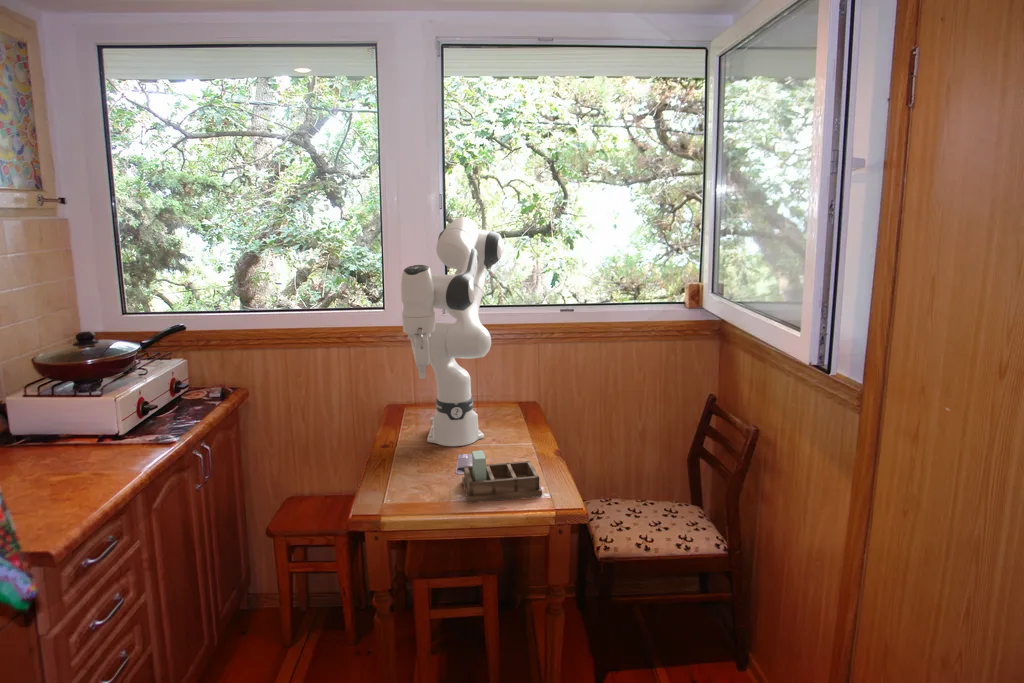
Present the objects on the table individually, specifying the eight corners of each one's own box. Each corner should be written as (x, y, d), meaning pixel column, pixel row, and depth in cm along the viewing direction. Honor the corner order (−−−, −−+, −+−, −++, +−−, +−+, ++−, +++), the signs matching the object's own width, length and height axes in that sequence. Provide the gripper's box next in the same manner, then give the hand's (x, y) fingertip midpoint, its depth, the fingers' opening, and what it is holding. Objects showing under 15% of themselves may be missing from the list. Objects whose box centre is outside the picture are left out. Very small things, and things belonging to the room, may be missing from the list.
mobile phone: (455, 472, 208) (457, 453, 223) (455, 475, 208) (457, 456, 223) (481, 471, 208) (482, 452, 223) (481, 474, 209) (482, 455, 223)
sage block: (472, 481, 199) (471, 451, 197) (483, 480, 200) (482, 450, 198) (475, 490, 193) (474, 459, 192) (486, 489, 194) (485, 458, 192)
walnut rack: (462, 481, 203) (461, 465, 202) (531, 475, 206) (531, 459, 205) (468, 502, 189) (468, 485, 188) (542, 495, 193) (542, 478, 192)
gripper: (433, 331, 187) (435, 382, 190) (427, 318, 206) (429, 364, 209) (409, 333, 186) (411, 384, 189) (405, 319, 205) (408, 365, 208)
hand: (421, 373), depth 199 cm, fingers open, 8 cm apart
